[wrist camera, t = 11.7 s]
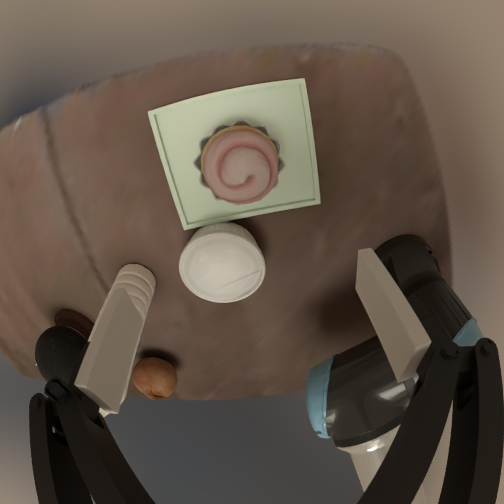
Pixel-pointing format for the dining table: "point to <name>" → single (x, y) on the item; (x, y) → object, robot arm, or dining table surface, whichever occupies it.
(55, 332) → the black ball on stand
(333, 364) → the robot arm
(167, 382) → the onion
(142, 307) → the water bottle
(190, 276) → the ramekin
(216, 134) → the cupcake
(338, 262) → the dining table surface
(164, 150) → the tray
